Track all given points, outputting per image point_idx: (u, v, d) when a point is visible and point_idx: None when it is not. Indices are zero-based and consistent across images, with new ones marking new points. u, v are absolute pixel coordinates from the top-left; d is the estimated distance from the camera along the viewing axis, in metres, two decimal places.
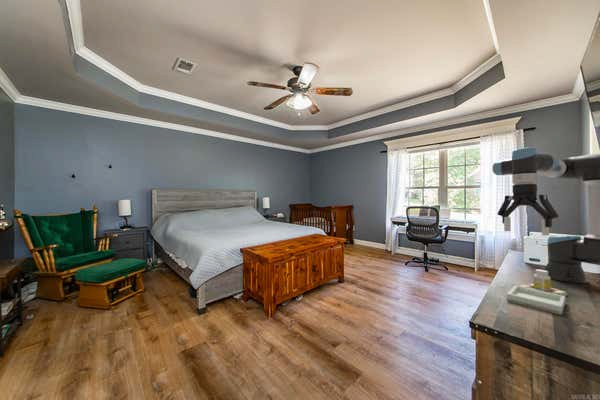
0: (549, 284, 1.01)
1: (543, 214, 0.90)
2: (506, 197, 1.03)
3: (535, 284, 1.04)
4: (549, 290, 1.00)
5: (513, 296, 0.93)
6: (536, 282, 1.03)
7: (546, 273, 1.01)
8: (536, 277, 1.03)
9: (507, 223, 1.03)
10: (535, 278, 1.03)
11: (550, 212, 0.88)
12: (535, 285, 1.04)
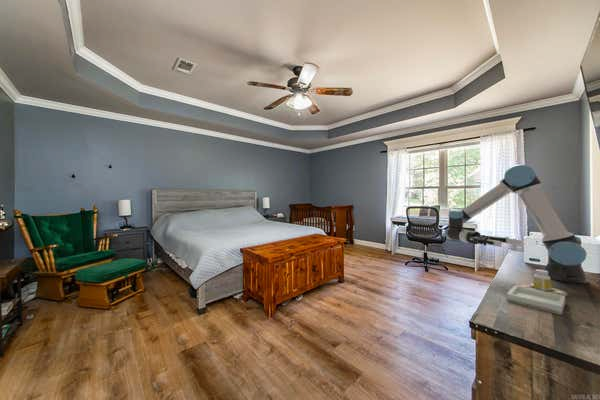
0: (549, 284, 1.01)
1: None
2: None
3: (535, 284, 1.04)
4: (549, 290, 1.00)
5: (513, 296, 0.93)
6: (536, 282, 1.03)
7: (546, 273, 1.01)
8: (536, 277, 1.03)
9: (511, 242, 1.20)
10: (535, 278, 1.03)
11: (479, 243, 1.22)
12: (535, 285, 1.04)
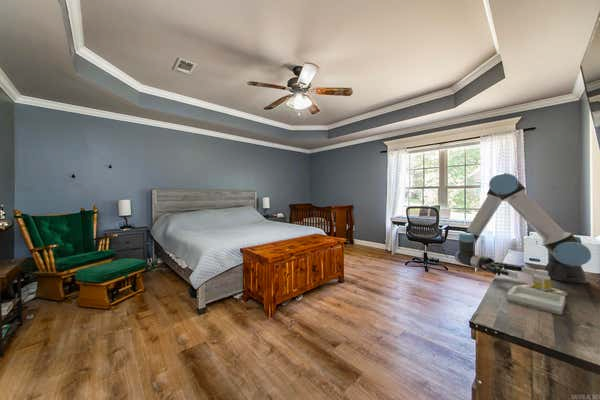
0: (549, 284, 1.01)
1: None
2: None
3: (535, 284, 1.04)
4: (549, 290, 1.00)
5: (513, 296, 0.93)
6: (536, 282, 1.03)
7: (546, 273, 1.01)
8: (536, 277, 1.03)
9: (527, 272, 1.13)
10: (535, 278, 1.03)
11: None
12: (535, 285, 1.04)
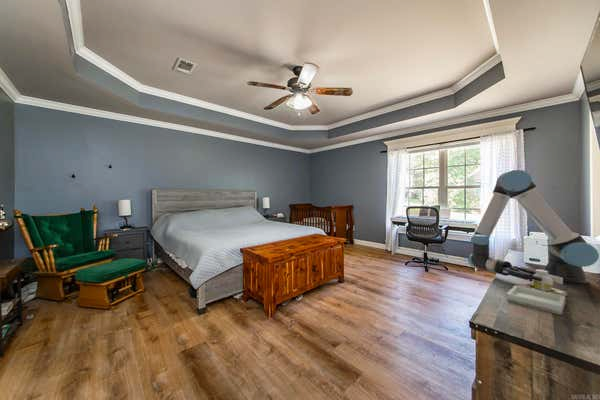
0: None
1: None
2: None
3: (535, 284, 1.04)
4: (549, 290, 1.00)
5: (513, 296, 0.93)
6: (536, 282, 1.03)
7: (546, 273, 1.01)
8: None
9: None
10: None
11: (521, 278, 1.06)
12: (535, 285, 1.04)
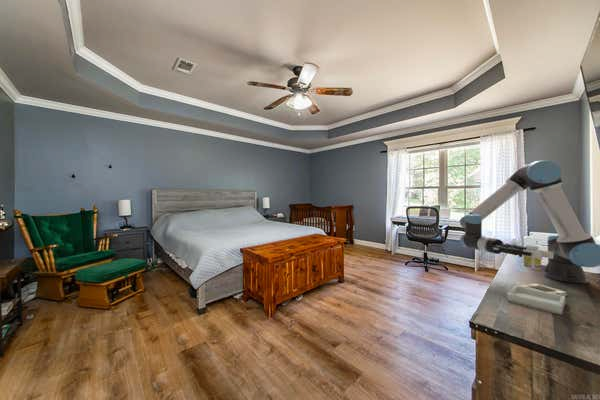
0: (539, 259, 0.98)
1: None
2: None
3: (525, 259, 1.01)
4: (539, 265, 0.98)
5: (513, 296, 0.93)
6: (526, 257, 1.01)
7: (536, 248, 0.99)
8: None
9: None
10: None
11: None
12: (525, 261, 1.01)
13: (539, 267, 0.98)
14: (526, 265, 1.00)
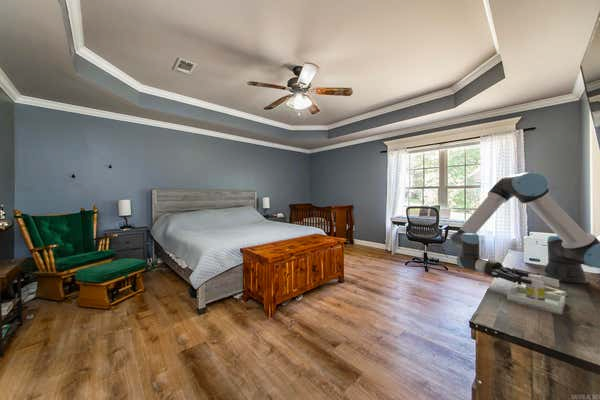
0: (543, 291, 0.90)
1: None
2: None
3: (527, 290, 0.93)
4: (543, 297, 0.90)
5: (513, 296, 0.93)
6: (528, 288, 0.93)
7: (540, 278, 0.91)
8: None
9: (545, 281, 0.93)
10: None
11: None
12: (527, 291, 0.93)
13: (543, 300, 0.90)
14: (529, 297, 0.93)
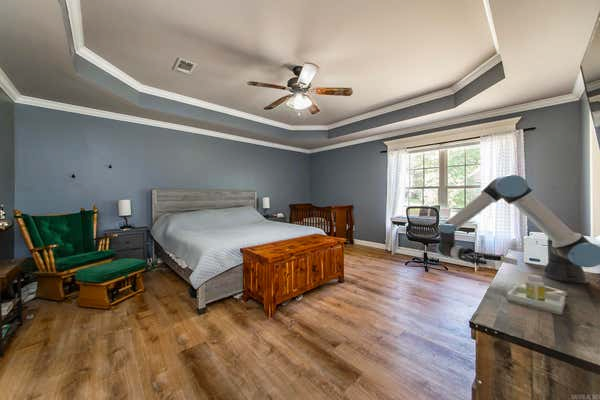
0: (543, 291, 0.90)
1: None
2: None
3: (527, 291, 0.93)
4: (543, 298, 0.90)
5: (513, 296, 0.93)
6: (528, 288, 0.93)
7: (539, 279, 0.91)
8: (528, 283, 0.93)
9: (507, 261, 1.09)
10: (527, 284, 0.93)
11: None
12: (527, 292, 0.93)
13: (543, 300, 0.90)
14: (529, 297, 0.93)
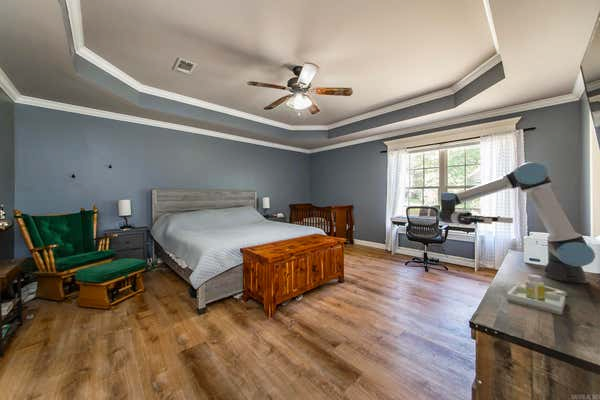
0: (543, 291, 0.90)
1: (474, 222, 1.19)
2: None
3: (527, 291, 0.93)
4: (543, 298, 0.90)
5: (513, 296, 0.93)
6: (528, 288, 0.93)
7: (539, 279, 0.91)
8: (528, 283, 0.93)
9: (503, 221, 1.17)
10: (527, 284, 0.93)
11: (469, 222, 1.19)
12: (527, 292, 0.93)
13: (543, 300, 0.90)
14: (529, 297, 0.93)
